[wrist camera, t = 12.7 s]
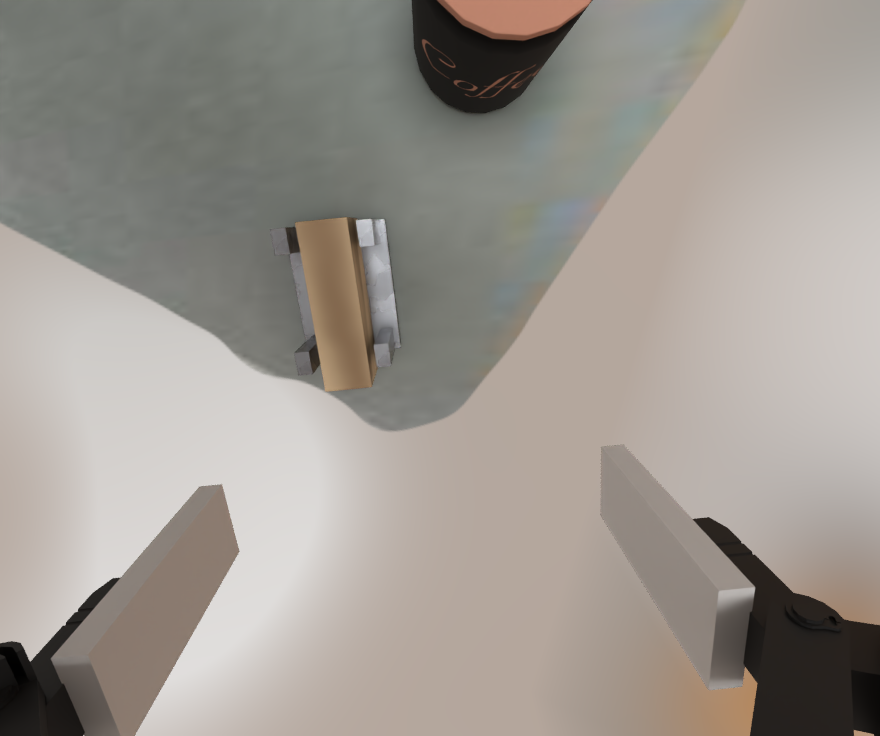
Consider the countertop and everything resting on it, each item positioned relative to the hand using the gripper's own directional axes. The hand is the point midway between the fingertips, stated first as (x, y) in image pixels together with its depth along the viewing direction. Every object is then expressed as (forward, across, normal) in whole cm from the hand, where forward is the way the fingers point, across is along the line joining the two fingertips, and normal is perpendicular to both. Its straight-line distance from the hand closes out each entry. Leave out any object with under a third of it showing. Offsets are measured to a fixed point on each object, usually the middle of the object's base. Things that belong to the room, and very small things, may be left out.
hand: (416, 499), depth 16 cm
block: (+30, -7, +3) cm, 31 cm away
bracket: (+31, -7, +4) cm, 32 cm away
